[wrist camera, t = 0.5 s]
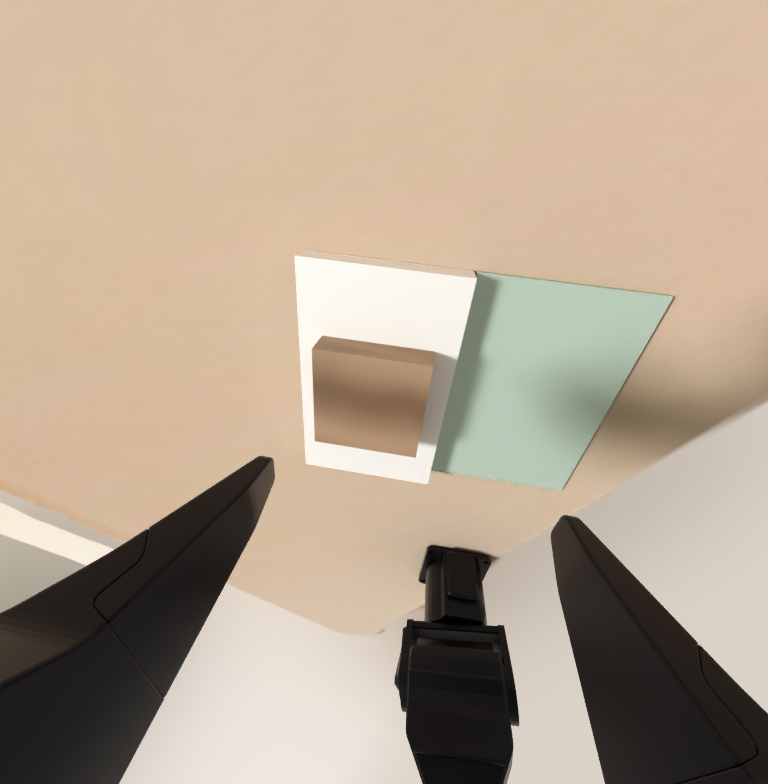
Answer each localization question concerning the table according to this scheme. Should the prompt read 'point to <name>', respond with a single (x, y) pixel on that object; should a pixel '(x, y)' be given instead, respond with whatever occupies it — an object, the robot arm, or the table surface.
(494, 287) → the mat
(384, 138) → the table surface
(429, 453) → the plate
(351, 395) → the tile
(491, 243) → the table surface
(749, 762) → the robot arm
